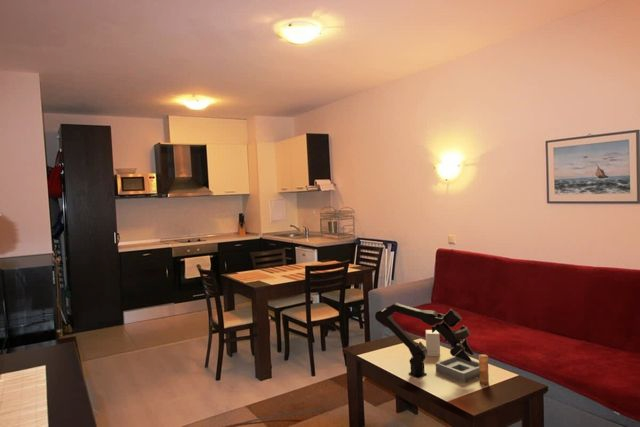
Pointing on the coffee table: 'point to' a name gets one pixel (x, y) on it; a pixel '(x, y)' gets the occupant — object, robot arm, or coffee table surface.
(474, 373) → the socket box
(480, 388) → the coffee table surface
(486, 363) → the orange peg
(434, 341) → the supplement box
